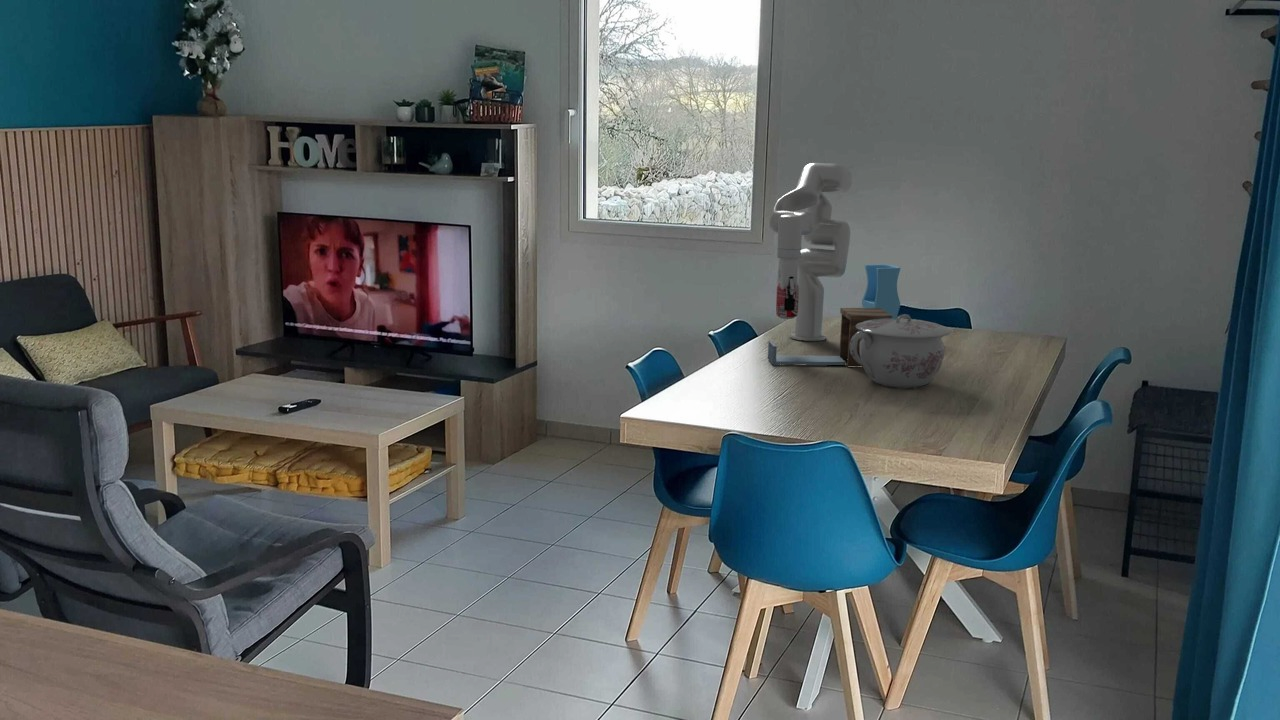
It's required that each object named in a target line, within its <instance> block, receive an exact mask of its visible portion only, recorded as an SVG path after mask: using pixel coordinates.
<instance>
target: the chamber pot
mask: <svg viewBox="0 0 1280 720" xmlns="http://www.w3.org/2000/svg"><path fill="white" fill-rule="evenodd" d="M856 328H857V329H858V330H860V331H858V332H857V333H856V334H855V335H854V336H852V338H851V340H850V346H849V349H850V353H851V355H852V357H853V358H854V360H855V361H856V362H857V363H859V364H860V365H861V366H862V367H861V368H863V369H864V371H865V373H866V375H867V377H868V378H869V380H871V381H872V382H874V383H876V384H879V385H880V384H881V386H883V385H885V386H884V387H887V386H890V387H889V388H893V387H898V388H897V389H914V387H916V388H920V387H923V386H926V385H929V384H930V383H931V382H932V381H933V379H934V378H935V377H936V375H937V374H938V372H939V371H940V369H941V368H942V365H943V362H944V358H945V351H946V350H945V349H946V345H945V343H944V342H943V340H942V338H943V337H946V336H949V335H951V333H952V330H951V329H950V328H949V327H947V326H944V325H941V324H939V323H936V322H933V321H931V322H930V321H927V320H922V319H916V318H915V319H914V318H911V316H910V314H907V313H906V314H905V313H904V314H900V315H897V318H883V319H872V320H867V321H863V322H859V323H858V324H857V325H856ZM859 339H861V340H860V342H859V354H860V357H859V355H858V353H857V343H858V340H859Z"/></svg>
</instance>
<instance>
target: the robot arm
mask: <svg viewBox="0 0 1280 720" xmlns="http://www.w3.org/2000/svg"><path fill="white" fill-rule="evenodd" d="M852 183H853V177H852V173H851V171H850V169H849V168H848V167H846V166H844V165H842V164H840V163H830V162H829V163H828V162H827V163H826V162H825V163H824V162H810V163H808V164H806V165H805V166H804V167H803V168H802V170H801V173H800V176H799V177H798V181H797V183H796V185H795V188H794V189H792V190H791V191H789V192H787V193H786V194H784V195H783V196H781V197H780V198H779V199H778V200H776V202H775V204H774V206H773V209H772V211H771V214H770V218H769V228H770V230H771V232H773V233H774V234H777V253H776V254H777V255H776V257H777V259H779V260H778V265H777V266H778V269H777V270H778V271H777V282H776V285H778V284H779V283H780V288H781V289H782V290H784V289H786V290H785V293H786V298H785V305H784V310H785V311H794V309H795V291H794V290H795V289H796V288H797V284H798V287H799V298H798V314H797V316H796V317H795V318H794V319H795V320H794V331H793V332H791V333H790V334H789V337H790V339H793V340H796V341H802V340H803V341H804V342H805V341H806V342H819V341H825V340H826V339H827V335H826V334H825V333H823V320H824V319H823V318H824V300H825V299H824V298H825V287H824V285H823V283H822V282H821V280H820V279H819V277H821V278H840V277H841V278H842V277H843V276H844V275H845V272H846V270H847V269H846V268H847V263H848V256H849V255H848V254H849V249H850V248H849V247H850V241H851V228H850V225H849V223H848V222H847V221H845V220H840V219H832V214H833V213H832V211H833V206H832V203H831V202H830V200H829V199H828V198H827V196H826V195H825V194H824V193H837V194H844V193H847V192H848V191H850V189H851V187H852ZM805 209H807V211H801V210H805ZM802 236H803V240H804V242H805V244H806V245H809V246H811V247H815V248H811V247H807V248H803V249H802ZM816 247H822V248H816ZM824 247H825V248H827V249H825V248H824ZM828 248H834V249H828ZM779 281H780V282H779ZM794 285H795V287H794ZM787 287H790V288H788V289H787ZM788 291H789V292H788Z"/></svg>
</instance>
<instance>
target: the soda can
mask: <svg viewBox="0 0 1280 720" xmlns="http://www.w3.org/2000/svg"><path fill="white" fill-rule="evenodd" d="M779 282H780V281H779ZM776 285H777V284H776ZM794 287H795V285H794ZM788 288H790V287H787V289H788ZM785 290H786V289H784V290H782V289H781V288H780V283H779V284H778V285H777V286H776V302H775V304H776V305H775V306H776V307H775V310H776V316H777V317H778V318H779V319H783V320H792V319H795V317H796V316H797V314H798V298H799V287H798V284H797V288H796V289H795V290H794V291H795V309H794V311H785V310H784V305H785V298H786V293H785ZM788 292H789V291H788Z"/></svg>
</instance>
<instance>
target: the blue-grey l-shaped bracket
mask: <svg viewBox="0 0 1280 720" xmlns="http://www.w3.org/2000/svg"><path fill="white" fill-rule="evenodd" d="M767 344H768V349H767V360H768V359H769V360H768V361H769V363H770V364H771V363H772V364H773V365H772V364H771V365H772V366H783V365H782V364H806V365H805V366H827V365H845V366H846V360H843V359H842V358H841V357H840V356H839V355H781V354H779V355H777V348H778V346H777V345H776V344H775V343H774V341H773V340H768V343H767ZM780 364H781V365H780Z"/></svg>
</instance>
